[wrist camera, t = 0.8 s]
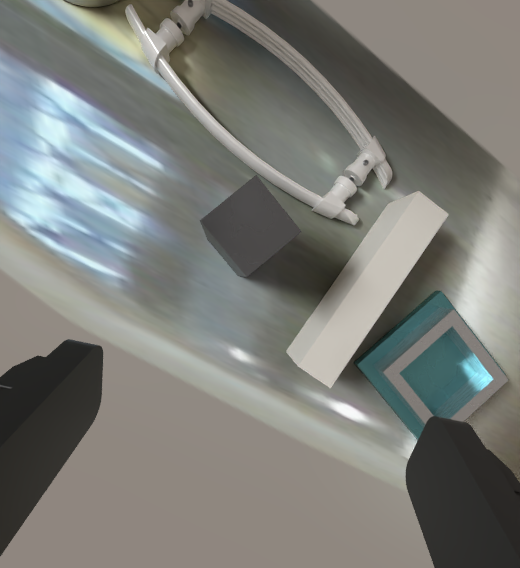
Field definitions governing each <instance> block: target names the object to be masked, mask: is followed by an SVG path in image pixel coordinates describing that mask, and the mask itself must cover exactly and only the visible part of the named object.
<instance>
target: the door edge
mask: <svg viewBox="0 0 520 568" xmlns="http://www.w3.org/2000/svg"><path fill="white" fill-rule="evenodd" d="M448 215H449V214H448V213H446V212H445V211H444V210H443V209H441V208H440V207H439V206H438V205H436V204H435V203H434V202H432V201H431V200H430V199H429V198H427V197H426V196H425V195H424V194H422V193H421V192H420V191H417V192H415V193H412V194H410V195H407V196H405V197H403V198H400V199H398V200H396V201H393V202H391V203H388V205H387V206H386V207H385V209H384V210H383V212H382V213H381V215H380V216H379V218H378V219H377V221H376V222H375V223H374V225H373V226H372V228H371V229H370V231H369V232H368V234H367V235H366V236H365V238H364V239H363V241H362V242H361V244H360V245H359V247H358V248H357V249H356V251H355V252H354V254H353V255H352V257H351V258H350V260H349V261H348V262H347V264H346V265H345V267H344V268H343V270H342V271H341V273H340V274H339V276H338V277H337V278H336V280H335V281H334V283H333V284H332V286H331V287H330V289H329V290H328V291H327V293H326V294H325V296H324V297H323V299H322V300H321V302H320V303H319V304H318V306H317V307H316V309H315V310H314V312H313V313H312V315H311V316H310V318H309V319H308V320H307V322H306V323H305V325H304V326H303V328H302V329H301V331H300V332H299V333H298V335H297V336H296V338H295V339H294V341H293V342H292V344H291V345H290V346H289V348H288V349H287V351H286V352H287V353H288V355H289V356H290V357H291V358H292V359H293V361H294V362H295V363H296V364H297V365H298V366H299V367H300V368H301V369H303V370H304V371H306V372H307V373H309V374H310V375H312V376H313V377H315V378H316V379H318V380H319V381H320V382H322V383H323V384H325V385H326V386H328V387H329V388H331V387H332V385H333V384H334V382H335V381H336V379H337V378H338V376H339V375H340V373H341V372H342V370H343V369H344V367H345V366H346V365H347V363H348V362H349V360H350V359H351V357H352V356H353V354H354V353H355V351H356V350H357V348H358V347H359V345H360V344H361V343H362V341H363V340H364V338H365V337H366V335H367V334H368V332H369V331H370V329H371V328H372V326H373V325H374V323H375V322H376V321H377V319H378V318H379V316H380V315H381V313H382V312H383V310H384V309H385V307H386V306H387V304H388V303H389V301H390V300H391V299H392V297H393V296H394V294H395V293H396V291H397V290H398V288H399V287H400V285H401V284H402V282H403V281H404V279H405V278H406V277H407V275H408V274H409V272H410V271H411V269H412V268H413V266H414V265H415V263H416V262H417V260H418V259H419V257H420V256H421V255H422V253H423V252H424V250H425V249H426V247H427V246H428V244H429V243H430V241H431V240H432V238H433V237H434V236H435V234H436V233H437V231H438V230H439V228H440V227H441V225H442V224H443V222H444V221H445V219H446V218H447V216H448Z"/></svg>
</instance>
